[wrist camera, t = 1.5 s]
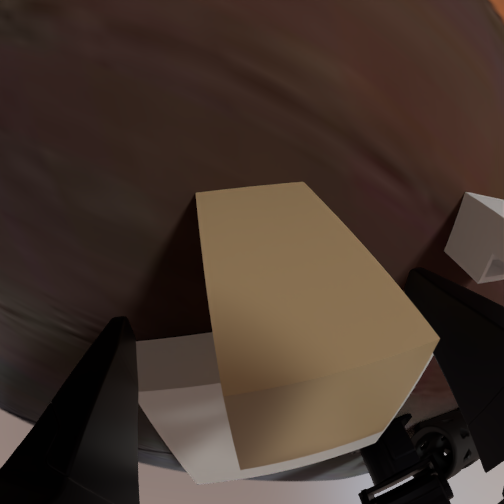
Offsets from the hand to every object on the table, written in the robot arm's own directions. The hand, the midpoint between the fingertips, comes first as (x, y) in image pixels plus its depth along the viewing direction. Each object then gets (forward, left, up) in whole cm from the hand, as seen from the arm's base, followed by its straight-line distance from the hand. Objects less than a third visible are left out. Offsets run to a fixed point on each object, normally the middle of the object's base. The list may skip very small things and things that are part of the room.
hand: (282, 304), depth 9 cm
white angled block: (-1, -14, -4) cm, 15 cm away
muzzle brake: (-36, -34, -4) cm, 50 cm away
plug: (0, 0, -4) cm, 4 cm away
